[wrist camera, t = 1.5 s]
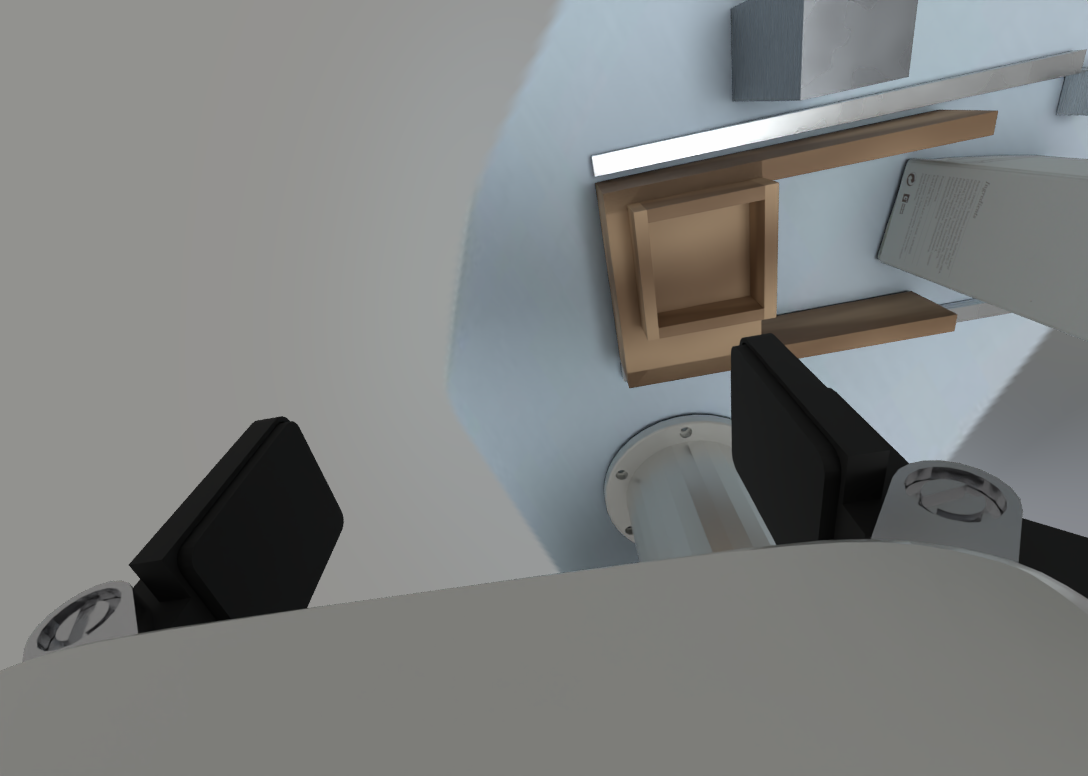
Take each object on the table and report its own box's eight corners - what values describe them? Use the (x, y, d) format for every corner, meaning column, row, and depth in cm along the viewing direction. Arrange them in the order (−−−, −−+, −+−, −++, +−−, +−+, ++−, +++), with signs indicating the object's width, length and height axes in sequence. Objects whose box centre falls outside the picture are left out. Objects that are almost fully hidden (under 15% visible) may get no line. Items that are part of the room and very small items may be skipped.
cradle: (909, 306, 32) (981, 345, 27) (620, 358, 34) (634, 405, 29) (938, 109, 27) (1035, 111, 22) (595, 183, 29) (607, 200, 23)
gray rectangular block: (811, 83, 27) (908, 76, 20) (732, 101, 27) (800, 100, 20) (815, -12, 25) (924, -57, 18) (730, 8, 25) (805, -29, 18)
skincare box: (873, 260, 31) (1114, 374, 18) (906, 150, 28) (1223, 190, 15) (1012, 259, 31) (1354, 371, 18) (1059, 148, 28) (1509, 188, 15)
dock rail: (1028, 303, 32) (1071, 321, 30) (622, 375, 35) (629, 398, 32) (1097, 45, 26) (1160, 38, 23) (590, 155, 28) (596, 160, 25)
